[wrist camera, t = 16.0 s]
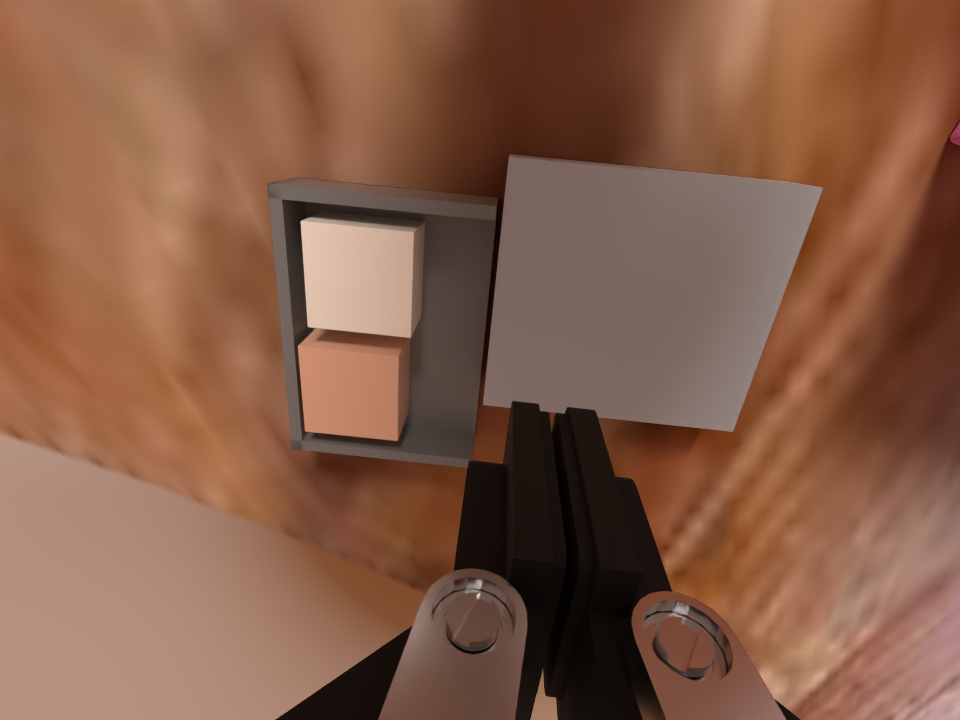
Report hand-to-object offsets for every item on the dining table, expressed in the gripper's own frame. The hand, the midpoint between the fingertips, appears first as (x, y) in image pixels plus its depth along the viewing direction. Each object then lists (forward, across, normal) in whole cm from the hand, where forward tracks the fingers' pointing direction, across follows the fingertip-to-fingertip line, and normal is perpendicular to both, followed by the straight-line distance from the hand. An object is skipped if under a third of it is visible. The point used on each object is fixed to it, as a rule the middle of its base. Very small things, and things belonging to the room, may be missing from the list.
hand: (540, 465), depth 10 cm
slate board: (+17, -5, +1) cm, 17 cm away
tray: (+17, +7, +4) cm, 18 cm away
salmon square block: (+13, +8, +7) cm, 17 cm away
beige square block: (+13, +8, +1) cm, 15 cm away
